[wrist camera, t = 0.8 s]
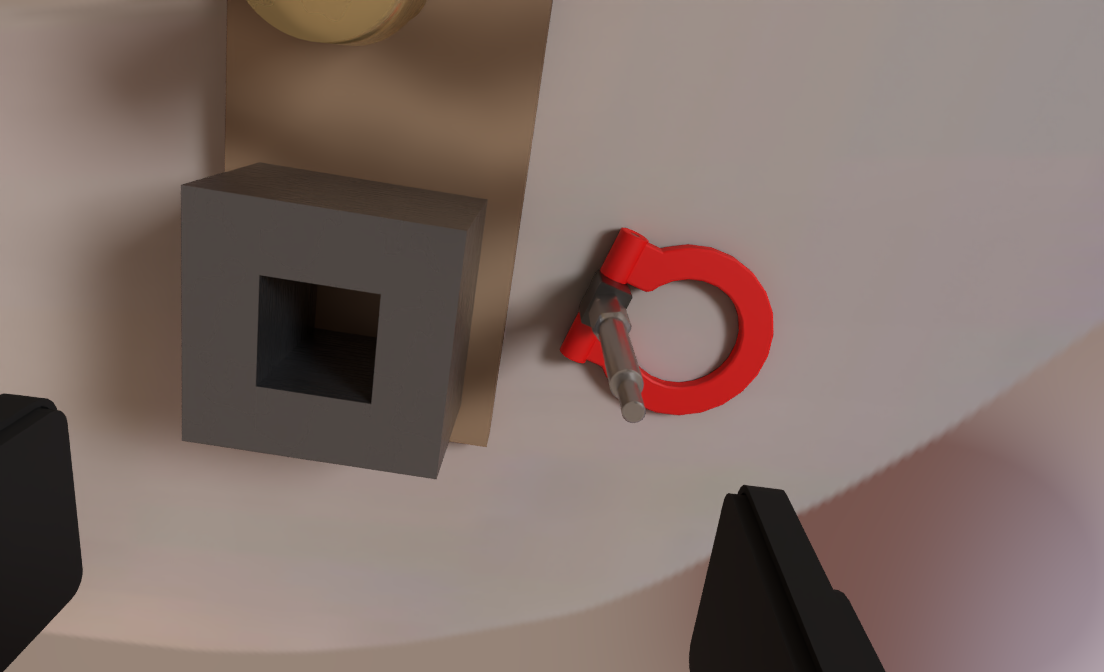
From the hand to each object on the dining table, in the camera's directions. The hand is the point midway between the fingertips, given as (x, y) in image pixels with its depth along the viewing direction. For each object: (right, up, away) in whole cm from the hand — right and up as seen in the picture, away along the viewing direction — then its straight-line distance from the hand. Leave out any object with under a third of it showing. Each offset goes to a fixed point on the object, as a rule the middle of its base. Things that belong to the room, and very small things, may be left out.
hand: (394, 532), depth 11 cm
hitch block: (-6, +5, +24) cm, 25 cm away
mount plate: (-5, +11, +24) cm, 26 cm away
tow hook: (+8, +3, +26) cm, 28 cm away
